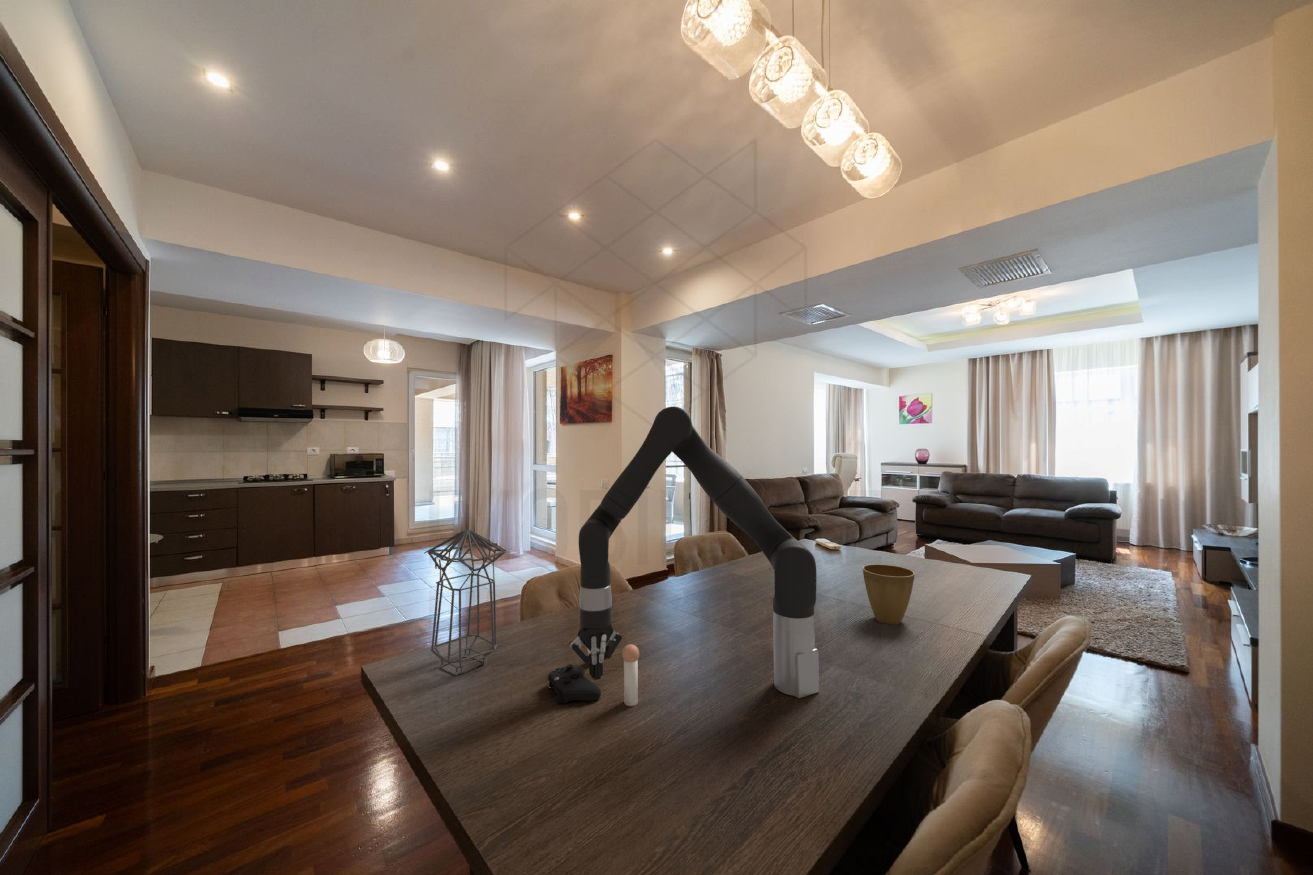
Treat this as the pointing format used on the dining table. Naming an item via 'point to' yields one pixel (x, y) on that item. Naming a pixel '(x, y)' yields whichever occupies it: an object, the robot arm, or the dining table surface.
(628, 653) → the posts
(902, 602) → the plant pot
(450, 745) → the dining table surface
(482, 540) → the geometric lantern
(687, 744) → the dining table surface
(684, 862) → the dining table surface
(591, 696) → the gaming controller
